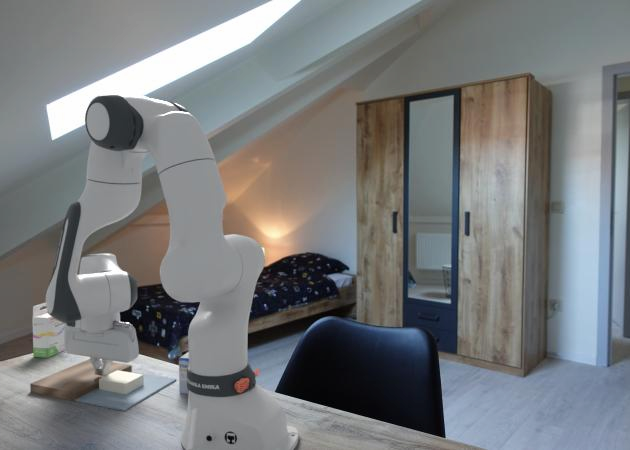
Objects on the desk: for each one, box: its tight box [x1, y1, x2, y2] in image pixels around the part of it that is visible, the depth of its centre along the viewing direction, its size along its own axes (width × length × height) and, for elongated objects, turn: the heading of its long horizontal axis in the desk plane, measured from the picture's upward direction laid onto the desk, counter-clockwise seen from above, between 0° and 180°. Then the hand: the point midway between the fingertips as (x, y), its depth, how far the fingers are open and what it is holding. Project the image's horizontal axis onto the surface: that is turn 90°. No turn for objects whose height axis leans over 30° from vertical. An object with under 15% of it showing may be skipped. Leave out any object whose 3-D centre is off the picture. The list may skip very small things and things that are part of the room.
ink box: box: [31, 302, 66, 359], centre depth 140 cm, size 9×5×15 cm, turn 168°
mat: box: [74, 370, 177, 412], centre depth 114 cm, size 14×18×1 cm
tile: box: [99, 370, 144, 394], centre depth 115 cm, size 8×6×2 cm
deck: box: [29, 358, 133, 402], centre depth 119 cm, size 14×18×2 cm
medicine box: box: [178, 351, 189, 395], centre depth 115 cm, size 8×4×9 cm, turn 168°
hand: (102, 374), depth 117 cm, fingers closed
